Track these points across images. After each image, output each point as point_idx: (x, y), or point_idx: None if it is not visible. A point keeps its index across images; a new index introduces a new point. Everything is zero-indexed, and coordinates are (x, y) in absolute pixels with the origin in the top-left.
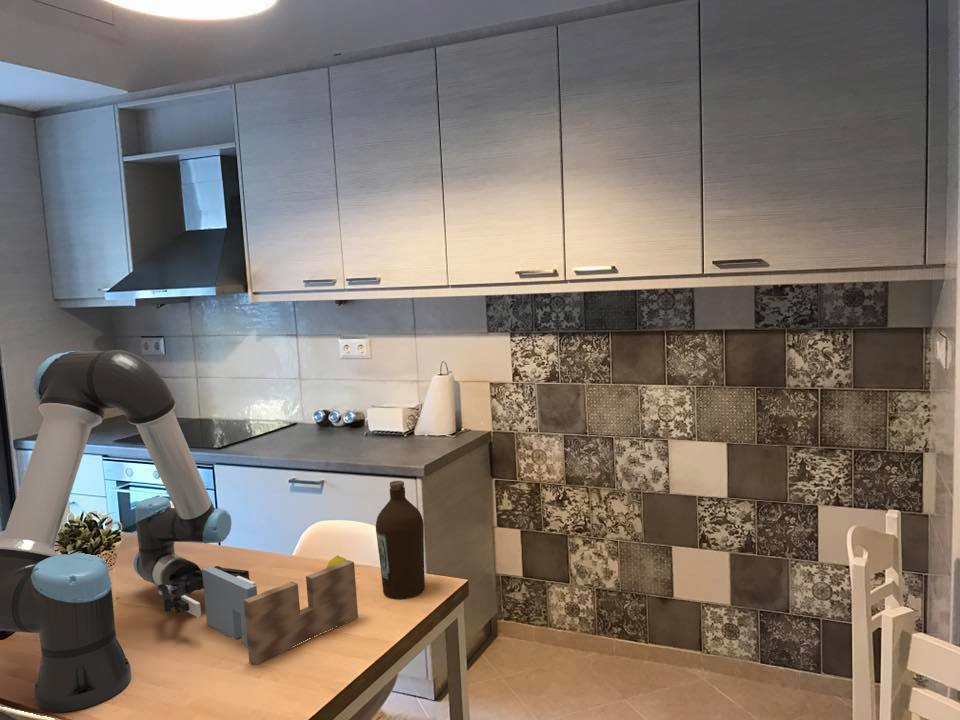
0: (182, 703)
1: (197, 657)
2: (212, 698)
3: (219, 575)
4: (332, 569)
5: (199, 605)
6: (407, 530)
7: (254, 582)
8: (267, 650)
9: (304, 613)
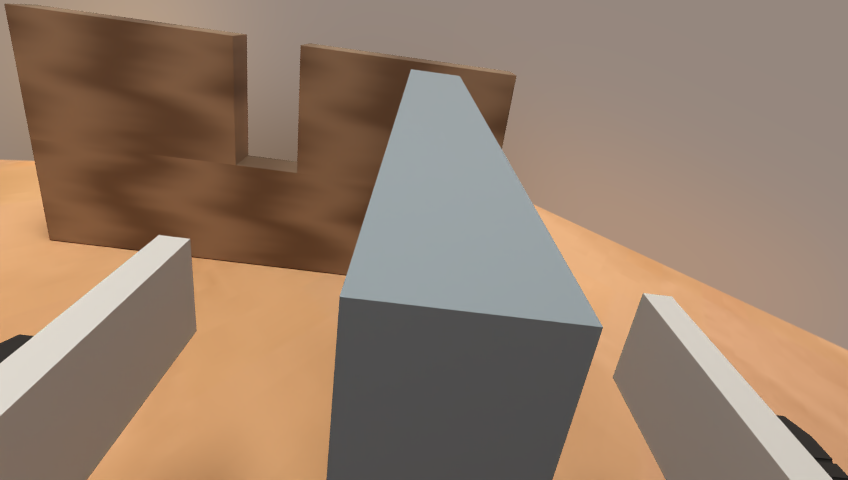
0: (686, 289)
1: (620, 427)
2: (613, 264)
3: (475, 133)
4: (137, 19)
5: (643, 307)
6: None
7: (153, 239)
8: None
9: (288, 161)
